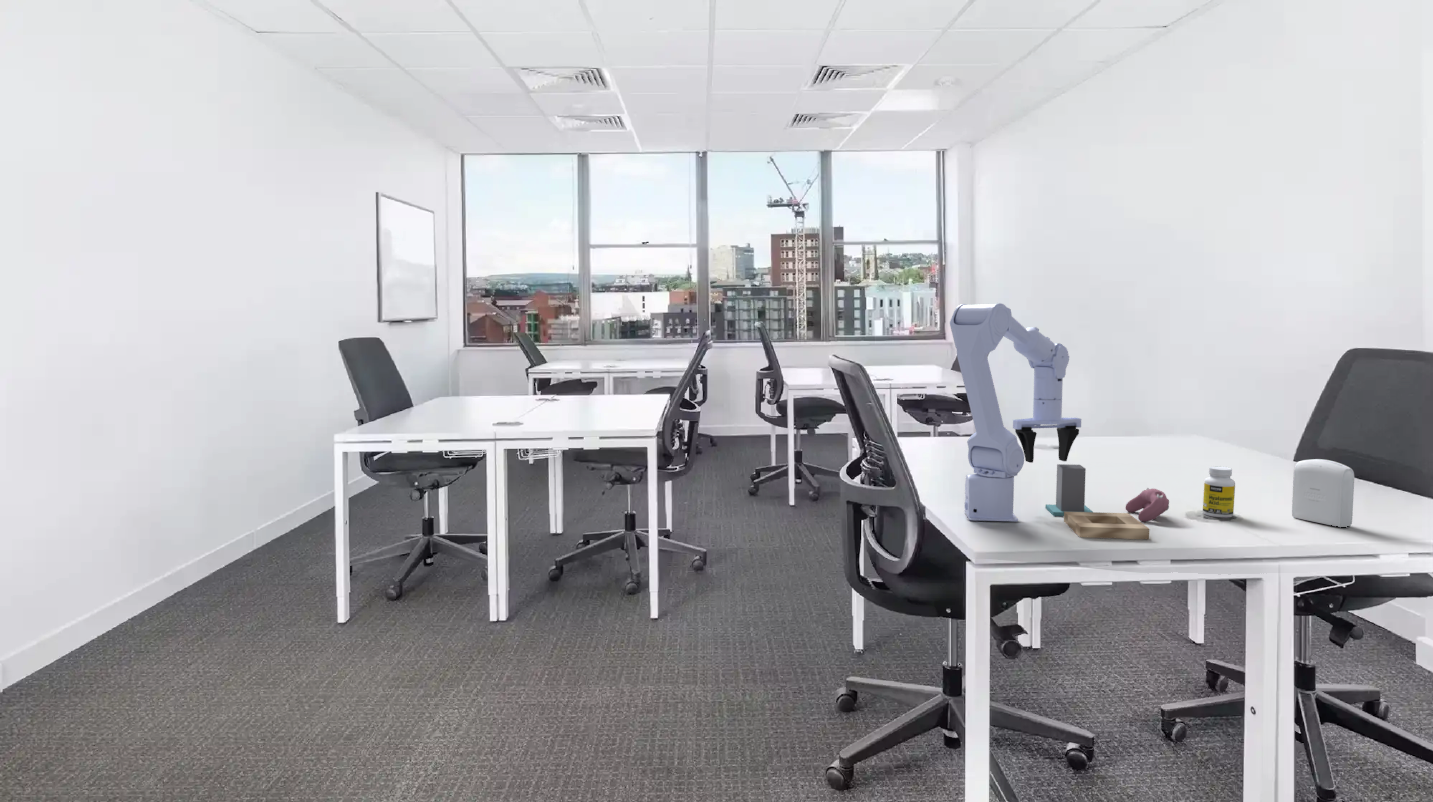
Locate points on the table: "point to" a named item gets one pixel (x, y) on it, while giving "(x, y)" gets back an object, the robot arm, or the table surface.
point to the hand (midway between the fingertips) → (1046, 461)
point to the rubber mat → (1057, 512)
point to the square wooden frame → (1106, 525)
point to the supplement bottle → (1219, 492)
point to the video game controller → (1149, 504)
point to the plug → (1070, 487)
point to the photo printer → (1323, 492)
